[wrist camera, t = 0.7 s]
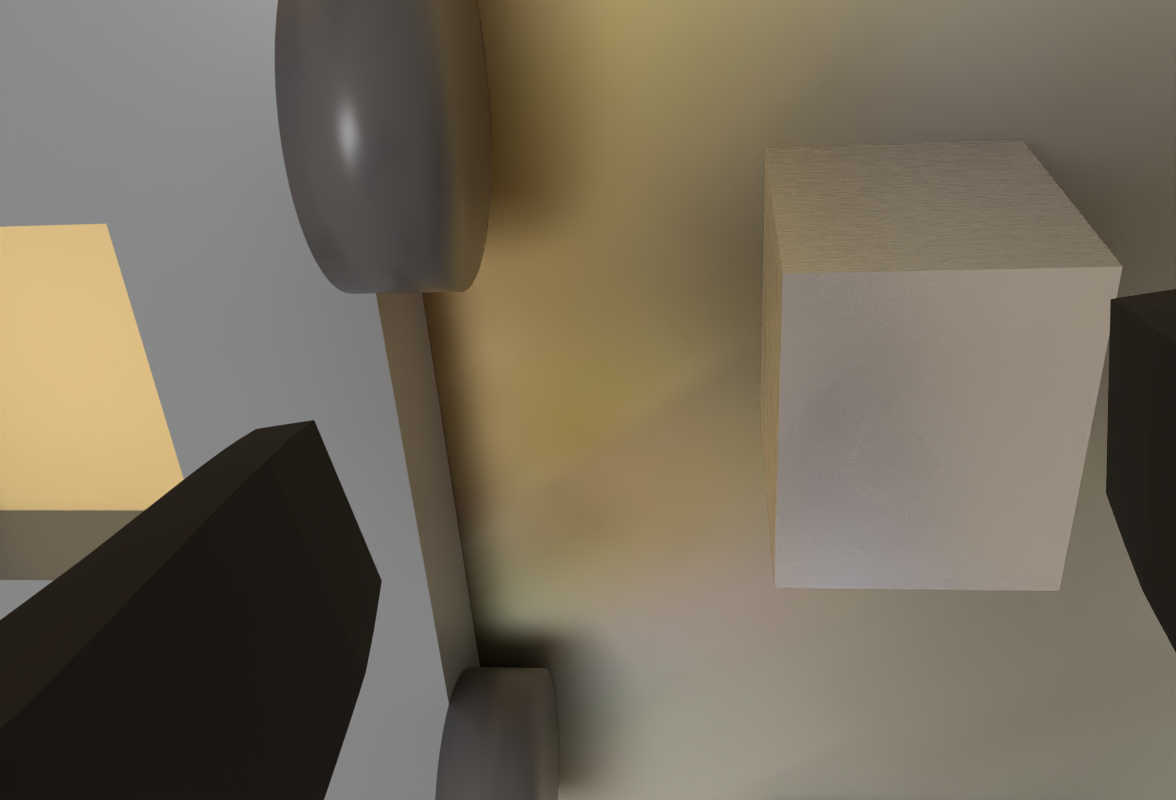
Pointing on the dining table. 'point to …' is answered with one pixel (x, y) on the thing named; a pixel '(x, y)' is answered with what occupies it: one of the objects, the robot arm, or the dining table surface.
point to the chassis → (258, 316)
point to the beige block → (926, 365)
